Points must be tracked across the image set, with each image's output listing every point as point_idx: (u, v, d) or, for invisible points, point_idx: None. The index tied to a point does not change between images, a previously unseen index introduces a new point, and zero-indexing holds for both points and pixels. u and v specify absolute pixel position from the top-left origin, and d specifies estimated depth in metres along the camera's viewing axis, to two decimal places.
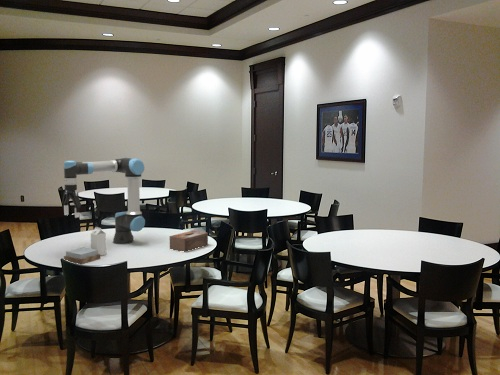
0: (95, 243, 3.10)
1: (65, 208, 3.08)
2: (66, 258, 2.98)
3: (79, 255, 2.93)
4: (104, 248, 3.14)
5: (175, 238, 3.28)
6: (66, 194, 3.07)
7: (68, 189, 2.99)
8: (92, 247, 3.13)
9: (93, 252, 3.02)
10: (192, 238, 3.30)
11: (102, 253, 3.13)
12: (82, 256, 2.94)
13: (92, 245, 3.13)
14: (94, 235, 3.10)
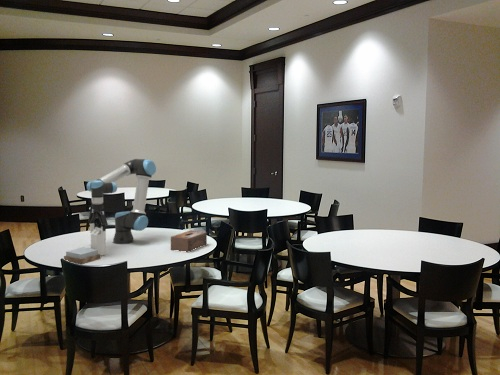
0: (95, 243, 3.10)
1: (91, 226, 3.17)
2: (66, 258, 2.98)
3: (79, 255, 2.93)
4: (104, 248, 3.14)
5: (177, 238, 3.27)
6: (92, 213, 3.16)
7: (95, 208, 3.08)
8: (92, 247, 3.13)
9: (93, 252, 3.02)
10: (193, 237, 3.31)
11: (102, 253, 3.13)
12: (82, 256, 2.94)
13: (92, 245, 3.13)
14: (94, 235, 3.10)
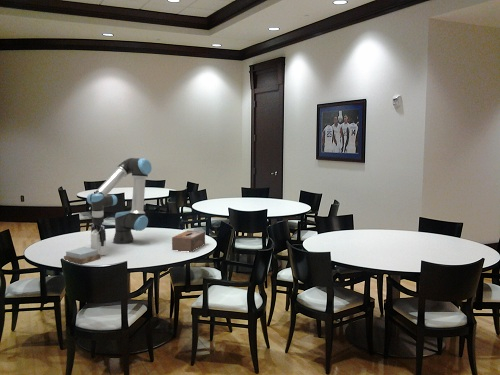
0: (95, 243, 3.10)
1: None
2: (66, 258, 2.98)
3: (79, 255, 2.93)
4: (104, 248, 3.14)
5: (179, 239, 3.26)
6: (93, 227, 3.17)
7: (95, 222, 3.09)
8: (92, 247, 3.13)
9: (93, 252, 3.02)
10: (195, 237, 3.32)
11: (102, 253, 3.13)
12: (82, 256, 2.94)
13: (92, 245, 3.13)
14: (94, 235, 3.10)
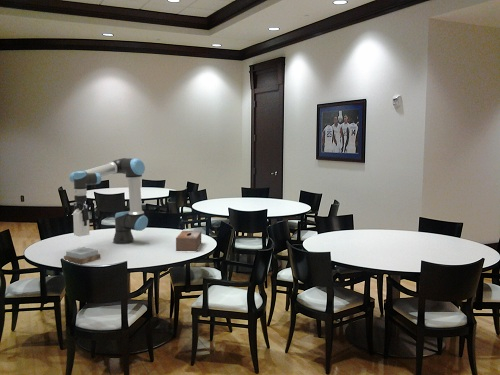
0: (78, 222, 2.96)
1: None
2: (66, 258, 2.98)
3: (79, 255, 2.93)
4: (87, 228, 3.00)
5: (184, 239, 3.25)
6: (76, 206, 3.02)
7: (78, 200, 2.95)
8: (75, 227, 2.99)
9: (93, 252, 3.02)
10: (197, 237, 3.33)
11: (85, 233, 2.99)
12: (82, 256, 2.94)
13: (75, 225, 2.98)
14: (76, 214, 2.96)
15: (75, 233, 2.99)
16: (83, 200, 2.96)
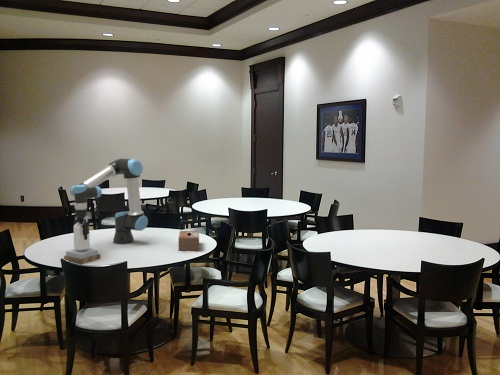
0: (78, 236, 2.97)
1: None
2: (66, 258, 2.98)
3: (79, 255, 2.93)
4: (87, 242, 3.01)
5: (186, 239, 3.25)
6: (77, 220, 3.03)
7: (78, 214, 2.96)
8: (75, 241, 3.00)
9: (93, 252, 3.02)
10: (198, 236, 3.34)
11: (85, 247, 3.00)
12: (82, 256, 2.94)
13: (75, 238, 2.99)
14: (77, 228, 2.97)
15: (75, 247, 3.00)
16: (83, 214, 2.97)
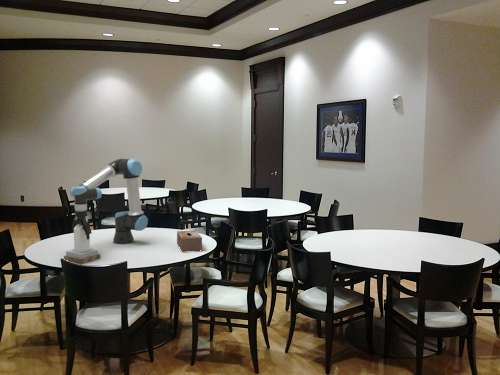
0: (78, 238, 2.97)
1: None
2: (66, 258, 2.98)
3: (79, 255, 2.93)
4: (88, 244, 3.01)
5: (189, 239, 3.26)
6: (76, 220, 3.04)
7: (78, 215, 2.96)
8: (75, 243, 3.00)
9: (93, 252, 3.02)
10: (199, 236, 3.36)
11: (85, 249, 3.00)
12: (82, 256, 2.94)
13: (75, 240, 3.00)
14: (77, 230, 2.97)
15: (75, 249, 3.00)
16: (83, 215, 2.97)
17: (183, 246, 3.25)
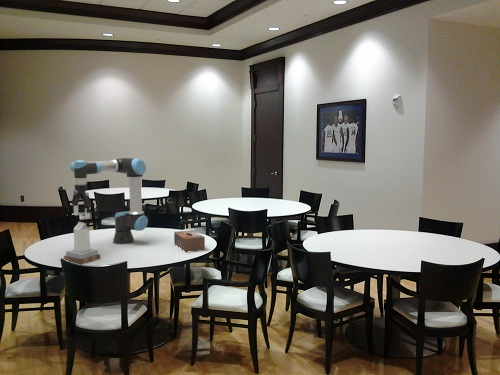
0: (78, 238, 2.97)
1: (75, 208, 3.03)
2: (66, 258, 2.98)
3: (79, 255, 2.93)
4: (88, 244, 3.01)
5: (193, 239, 3.26)
6: (76, 194, 3.03)
7: (78, 189, 2.95)
8: (75, 243, 3.00)
9: (93, 252, 3.02)
10: None
11: (85, 249, 3.00)
12: (82, 256, 2.94)
13: (75, 240, 3.00)
14: (77, 230, 2.97)
15: (75, 249, 3.00)
16: (83, 189, 2.96)
17: (187, 246, 3.25)
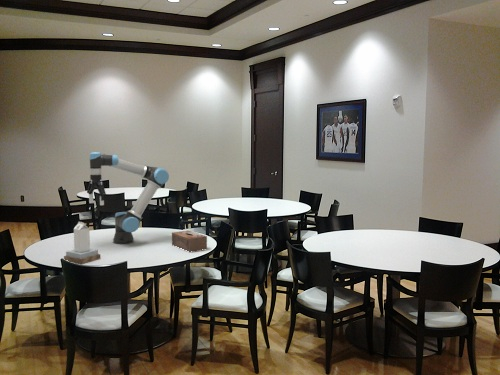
0: (78, 238, 2.97)
1: (90, 197, 3.30)
2: (66, 258, 2.98)
3: (79, 255, 2.93)
4: (88, 244, 3.01)
5: (196, 239, 3.27)
6: (91, 184, 3.29)
7: (94, 179, 3.21)
8: (75, 243, 3.00)
9: (93, 252, 3.02)
10: None
11: (85, 249, 3.00)
12: (82, 256, 2.94)
13: (75, 240, 3.00)
14: (77, 230, 2.97)
15: (75, 249, 3.00)
16: (98, 179, 3.22)
17: (191, 246, 3.25)
